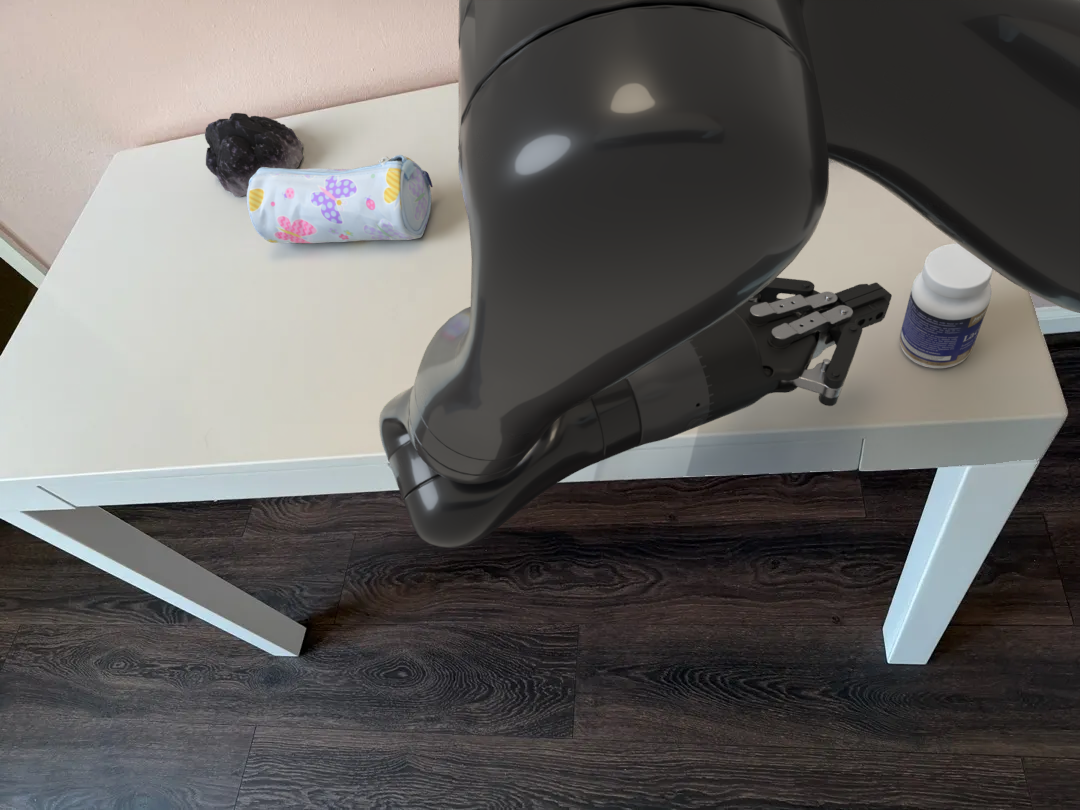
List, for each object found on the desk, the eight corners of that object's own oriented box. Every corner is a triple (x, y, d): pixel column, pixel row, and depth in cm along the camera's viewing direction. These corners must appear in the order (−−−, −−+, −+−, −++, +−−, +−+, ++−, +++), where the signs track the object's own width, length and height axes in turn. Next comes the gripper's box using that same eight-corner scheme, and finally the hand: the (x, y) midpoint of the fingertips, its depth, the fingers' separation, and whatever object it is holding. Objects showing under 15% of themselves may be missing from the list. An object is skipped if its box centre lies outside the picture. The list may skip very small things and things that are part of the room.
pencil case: (444, 200, 92) (415, 135, 85) (427, 254, 88) (395, 190, 80) (294, 211, 98) (254, 151, 91) (271, 262, 94) (227, 204, 86)
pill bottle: (970, 375, 64) (999, 297, 56) (895, 366, 66) (913, 290, 58) (974, 321, 66) (1002, 239, 58) (901, 314, 69) (920, 234, 61)
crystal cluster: (250, 137, 112) (203, 81, 104) (324, 130, 106) (279, 70, 98) (211, 208, 106) (157, 155, 98) (286, 204, 101) (235, 147, 92)
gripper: (737, 403, 45) (968, 312, 49) (630, 278, 54) (835, 208, 58) (723, 479, 51) (931, 391, 55) (628, 355, 59) (815, 286, 63)
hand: (881, 297), depth 56 cm, fingers closed
